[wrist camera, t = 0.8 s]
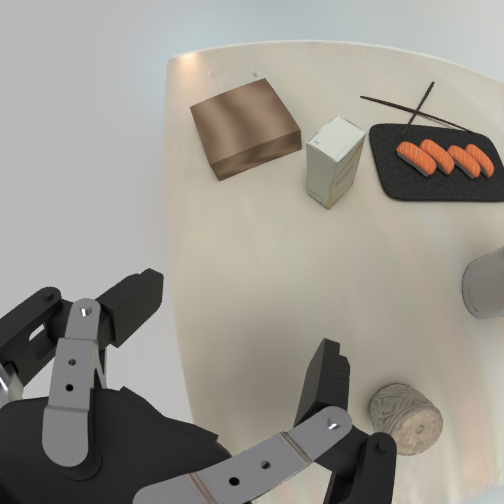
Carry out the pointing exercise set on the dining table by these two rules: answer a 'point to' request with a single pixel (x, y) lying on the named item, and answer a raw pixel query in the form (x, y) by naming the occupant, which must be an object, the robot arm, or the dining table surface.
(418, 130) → the sushi plate
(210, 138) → the block
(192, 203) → the dining table surface
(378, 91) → the dining table surface
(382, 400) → the carving
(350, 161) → the skincare box
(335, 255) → the dining table surface
